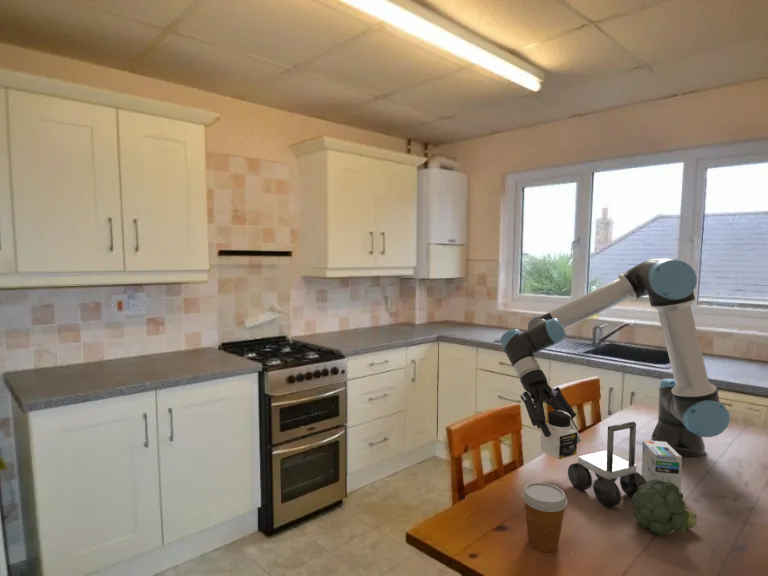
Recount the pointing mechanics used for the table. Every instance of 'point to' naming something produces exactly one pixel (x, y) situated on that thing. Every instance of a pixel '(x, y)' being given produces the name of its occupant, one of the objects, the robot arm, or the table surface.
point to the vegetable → (661, 508)
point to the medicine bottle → (560, 435)
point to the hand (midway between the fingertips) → (568, 444)
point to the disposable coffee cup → (544, 515)
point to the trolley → (608, 470)
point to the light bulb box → (661, 462)
